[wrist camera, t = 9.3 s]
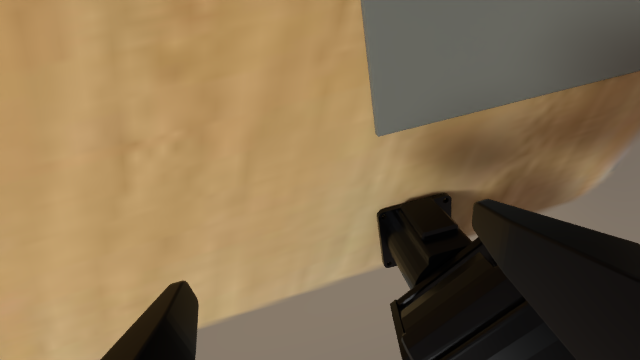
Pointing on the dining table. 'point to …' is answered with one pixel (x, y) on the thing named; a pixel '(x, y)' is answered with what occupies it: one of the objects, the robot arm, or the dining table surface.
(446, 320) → the robot arm
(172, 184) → the dining table surface
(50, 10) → the dining table surface
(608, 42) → the charcoal mat
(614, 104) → the dining table surface
